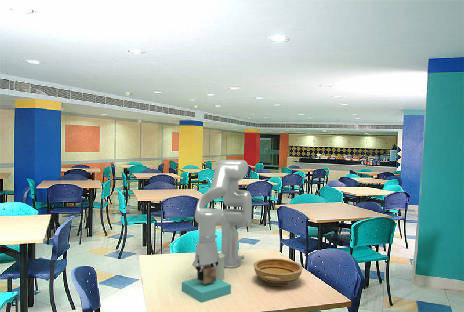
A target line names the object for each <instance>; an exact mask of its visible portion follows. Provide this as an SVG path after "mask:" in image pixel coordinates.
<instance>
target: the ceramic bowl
mask: <svg viewBox="0 0 464 312" xmlns="http://www.w3.org/2000/svg"><path fill="white" fill-rule="evenodd" d="M253 269H254V272H255V274H256V276H257V277H258V278H259V279H261V280H264V281H265V282H266V283H267V284H269V285H271V286H275V287H284V286H287V285H289V284H290V283H291V282H294V281H296V280H298V279H299V278H300V277H301V275H302V271H303V269H304V268H303V266H302V265H301V264H300V263H298V262H296V261H293V260H289V259H283V258H264V259H260V260H257V261H255V262H254V263H253Z"/></svg>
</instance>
